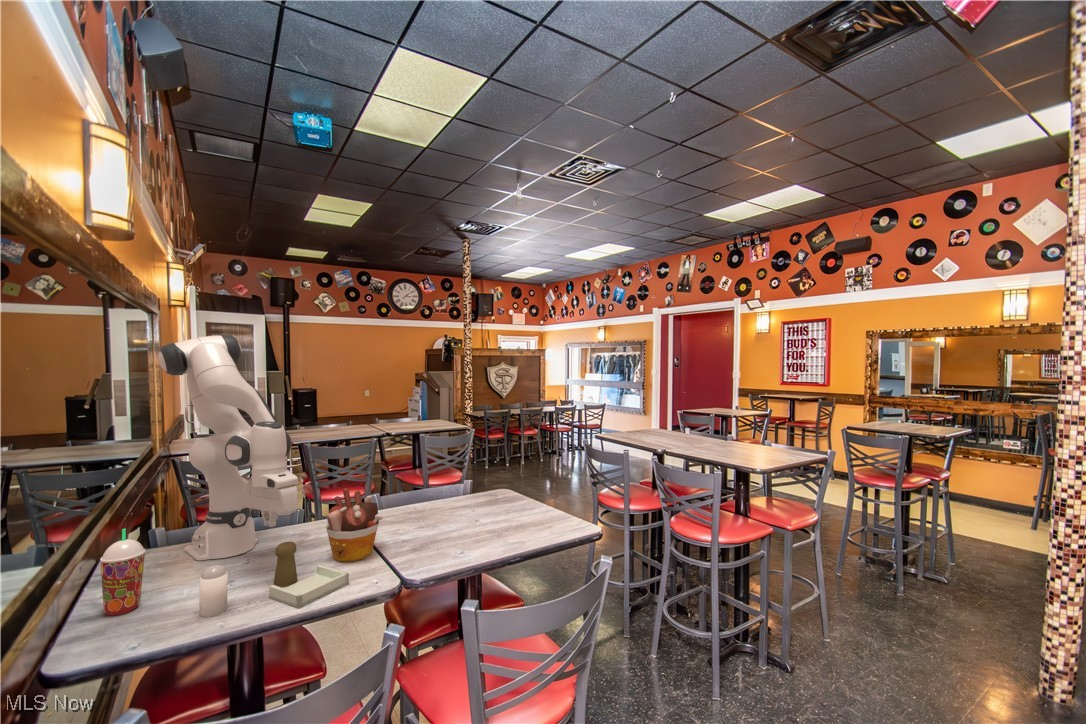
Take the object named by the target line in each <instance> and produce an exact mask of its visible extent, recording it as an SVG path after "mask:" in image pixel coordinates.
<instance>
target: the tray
mask: <svg viewBox="0 0 1086 724" xmlns="http://www.w3.org/2000/svg"><path fill="white" fill-rule="evenodd" d="M349 574H350V573H349V572H346V571H343V570H339V569H335V568H332V567H329V566H325V565H321V564H319V565H317V566H316V574H314V575H311V576H309V577H307V578H304V579H302V580H300V581H297V583H295V584H293V585H290V586H288V587H283V588H281V587H278V586H275V585H273V584H272V585H269V587H268V598H269V599H271V600H274V601H277V602H280V603H282V604H284V605H288V606H290V607H293V608H296V609H300V608H303V607H304V606H307V605H309V604H311V603H314V602H315V601H317V600H318V599H321V598H323V597H326V596H327V595H329V594H331V593H333V592H336V591H337V590H340V589H342V588H344V587H346V586H348V585H349V583H350V582H349V580H350V579H349Z"/></svg>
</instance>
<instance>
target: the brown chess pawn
mask: <svg viewBox="0 0 1086 724" xmlns="http://www.w3.org/2000/svg"><path fill="white" fill-rule="evenodd" d="M296 552H297V544H296V543H295V542H294V541H284V542H282V543H280V544H278V545H277V546H276V547H275V555H276V557H277V558H276V559H277V560H276V566H275V572H274V577H273V584H272V585H275V586H278V587H281V588H286V587H288V586H290V585H293V584H295V583H297V582H299V581H298V574H297V564H296V558H295V554H296Z"/></svg>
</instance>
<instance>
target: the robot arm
mask: <svg viewBox="0 0 1086 724" xmlns="http://www.w3.org/2000/svg"><path fill="white" fill-rule="evenodd" d="M241 358H242V347H241V344H240V342H239V341H238V339H237V337H235V335H234V336H233V334H219V335H208V336H199V337H196V338H195V337H194V338H190V339H185V340H181V341H176V342H169V343H166V344H164V345H162V346H161V347H160V348H159V350H158V356H157V359H158V364H159V366H160V367H161V368H162V370H163V371H164V372H165V373H166V374H168V375H169V376H184V375H186V384H187V389H188V390H187V391H188V394H189V398H190V400H191V404H192V407H193V409H194V412H195V414H196V418H197V420H198V422H199V423H200V424H201V425H202V426H203V427H206V428H208V429H210V430H211V431H213V433H214V435H209V436H207V437H204V438H202V439H199V440H197V441H195V442H194V443H193V444H191V447H190V449H189V452H188V459H189V462H190V464H191V466H193V468H195V469H197V470H198V471H200V472H201V473H202V475H203V476H204V477H205V480H206V482H207V485H208V496H209V502H208V503H209V504H208V505H209V507H208V508H209V509H206V513H205V514H206V516H205V521H204V523H202V524H201V525H200V526H199V527H198V528H197V529H196V530H195V531H194V533H193V535H192V536H191V542H192V543H190V544H188V545H186V546H185V547H184V548H183V549H184V552H185V553H187V554H188V555H189V556H190V557H192V558H193V559H194V560H195V561H205V560H213V559H214V560H215V559H225V558H229V557H235V556H238V555H242V554H244V553H247V552H249V551H252V549H254V548H255V545H256V544H258V543H259V538H258V537H256V531H255V521H254V519H253V518H252V517H251V516H252V510H258V511H261V512H260V513H261V517H262V519H263V525H264V526H265V527H271V528H273V527H275V526H277V520H278V517H279V515H289V514H292V513H295V512H296V511H297V509H298V505H299V491H298V487H297V486H296V485H298V483H299V478H298V476H297V475H295V474H294V473H292V472H291V471H290V470H289V469H288V464H287V460H286V457H287V456H288V455H289V453H290V452H291V449H292V445H293V440H292V438H291V436H290V434H289V433H288V432H287V431H286V429H285V426H284V425H283V424H282V423H280V422H279V420H278V419H277V418H276V416H275V415H274V413H273V412H272V410H271V408H270V406H269V405H268V404H267V402H266V401H265V399H264V397H263V396H262V395H261V393H260V392H259V391H258V390H257V389H256V388H254V387H253V386H252V385H250V383H248V382H247V381H246V379H244V377H243V376H242V375H241V373H240V371H239V370H238V368H237V364H238V362H239V361H240V360H241ZM239 410H242V411H244V412H245V413H246V414H247V415H248V416H249V417H250V419H251V420H252V422H253V423H254V424H253V425H252V426H251V425H250V424H249V423H248V422H247V421H246V420H245V419H244V418H245V417H243V416H242V414H241V413H240V411H239ZM247 466H248V467H249V466H251V476H250V477H249V478H247V479H246V478H245V477H243V476H241V473H240V471H239V468H238V467H247Z"/></svg>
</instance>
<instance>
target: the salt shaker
mask: <svg viewBox="0 0 1086 724" xmlns="http://www.w3.org/2000/svg"><path fill="white" fill-rule="evenodd" d="M228 573H229V572H228V570H226V568H225V566H223V565H221V564H220V565H219V564H213V565H211V566H209V567H207V568H206V569H204V571H203V572H202V574H201V575H200V577H199V605H198V606H199V607H198V608H199V609H198V610H199V611H198V612H199V613H198V616H199V618H204V619H205V618H207V619H208V618H211V617H213V618H214V617H216V616H219V615H221V614H223V613H224V612H226V611H227V610H228V585H229V583H228V582H229V581H228V580H229V579H228V577H229V576H228Z"/></svg>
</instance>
